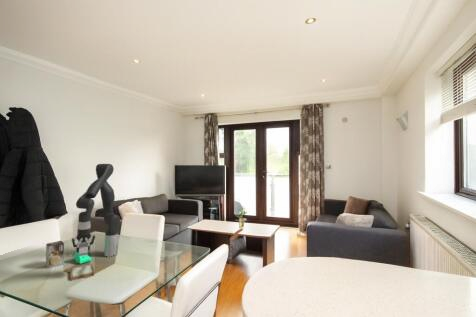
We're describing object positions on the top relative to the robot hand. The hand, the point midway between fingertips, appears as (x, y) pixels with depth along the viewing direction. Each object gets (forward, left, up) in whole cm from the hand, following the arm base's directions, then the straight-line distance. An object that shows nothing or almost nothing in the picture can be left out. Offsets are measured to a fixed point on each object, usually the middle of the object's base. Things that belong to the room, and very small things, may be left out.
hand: (82, 251), depth 165 cm
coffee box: (+15, -22, -16) cm, 31 cm away
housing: (0, 0, -1) cm, 1 cm away
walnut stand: (0, 0, -16) cm, 16 cm away
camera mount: (-2, -20, -16) cm, 26 cm away
